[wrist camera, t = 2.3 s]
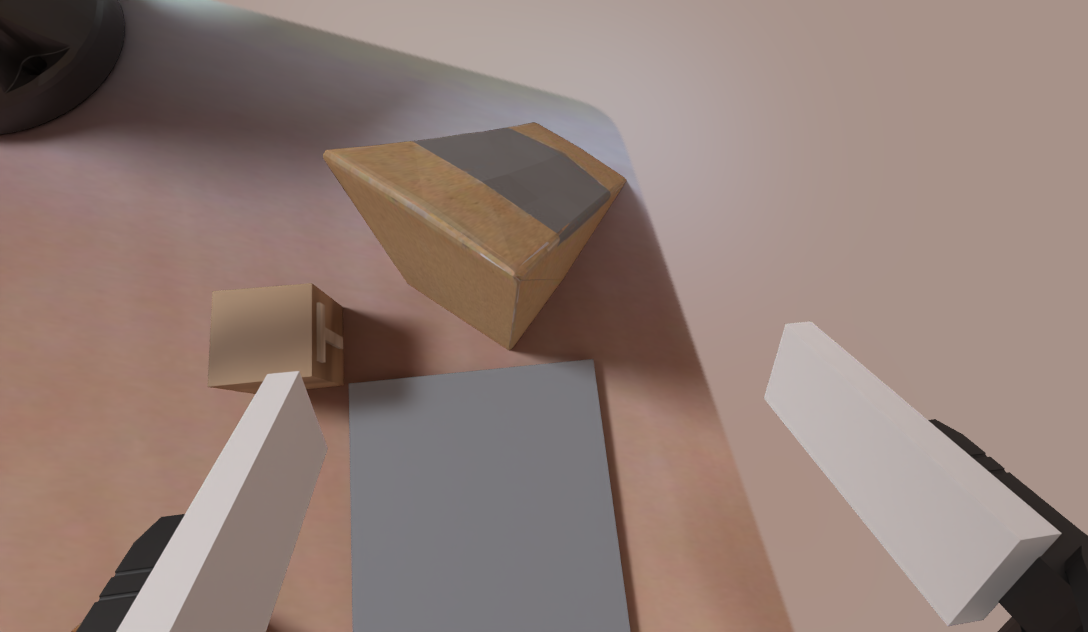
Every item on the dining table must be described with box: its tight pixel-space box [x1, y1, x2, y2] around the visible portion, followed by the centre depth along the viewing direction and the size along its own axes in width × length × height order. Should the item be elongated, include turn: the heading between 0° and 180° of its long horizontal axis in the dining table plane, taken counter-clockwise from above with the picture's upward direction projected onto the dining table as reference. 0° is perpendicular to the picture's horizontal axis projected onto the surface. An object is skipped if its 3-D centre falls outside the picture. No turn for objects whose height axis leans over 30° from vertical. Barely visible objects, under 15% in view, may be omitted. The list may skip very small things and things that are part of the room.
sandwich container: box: [323, 122, 626, 350], centre depth 25 cm, size 9×15×15 cm, turn 147°
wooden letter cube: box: [208, 283, 344, 394], centre depth 27 cm, size 5×5×5 cm
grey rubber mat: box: [349, 359, 630, 632], centre depth 27 cm, size 20×15×1 cm
